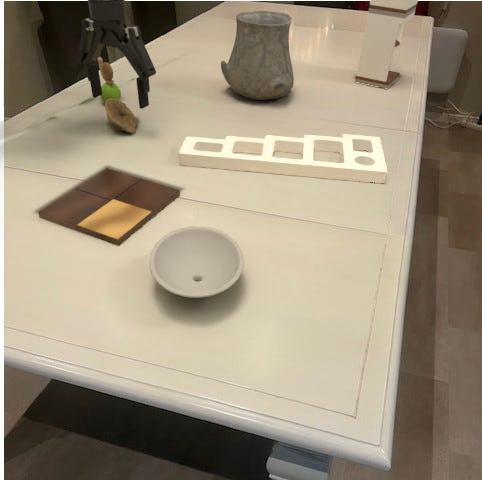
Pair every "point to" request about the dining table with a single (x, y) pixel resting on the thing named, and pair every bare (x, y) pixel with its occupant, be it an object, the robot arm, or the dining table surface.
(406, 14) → the white square pillar
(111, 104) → the fossil
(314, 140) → the holder
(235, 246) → the dish
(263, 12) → the vessel
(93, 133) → the dining table surface
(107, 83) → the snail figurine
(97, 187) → the board
